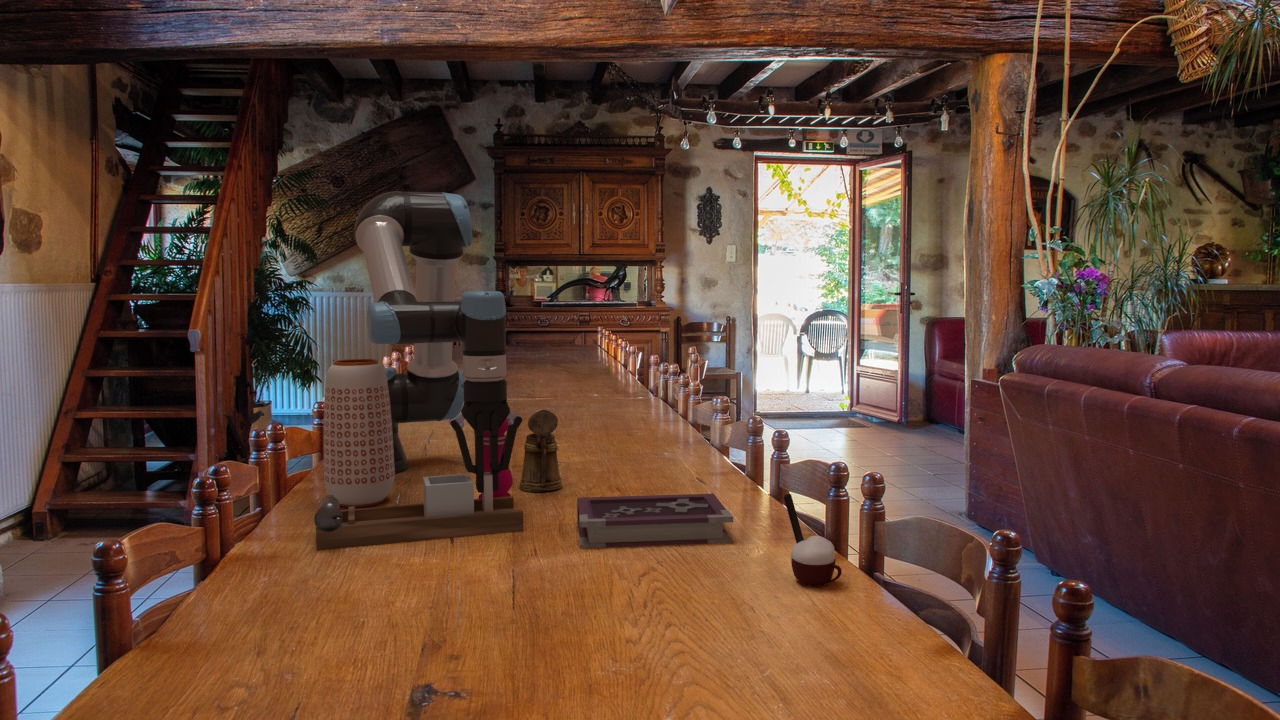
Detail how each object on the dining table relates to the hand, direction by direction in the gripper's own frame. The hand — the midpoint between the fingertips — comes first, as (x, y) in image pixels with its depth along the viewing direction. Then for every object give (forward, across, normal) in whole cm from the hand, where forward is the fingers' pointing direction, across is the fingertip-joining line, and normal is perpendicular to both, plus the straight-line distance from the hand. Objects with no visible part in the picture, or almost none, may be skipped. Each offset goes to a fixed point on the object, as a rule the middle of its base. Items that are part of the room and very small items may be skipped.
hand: (487, 509), depth 155 cm
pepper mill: (+3, +4, +14) cm, 15 cm away
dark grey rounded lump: (+1, -27, -2) cm, 27 cm away
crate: (+1, -7, 0) cm, 7 cm away
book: (+4, +26, -14) cm, 30 cm away
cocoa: (+3, +40, -45) cm, 60 cm away
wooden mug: (+3, +15, +22) cm, 27 cm away
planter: (+3, -21, +25) cm, 33 cm away
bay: (+3, -12, 0) cm, 12 cm away
